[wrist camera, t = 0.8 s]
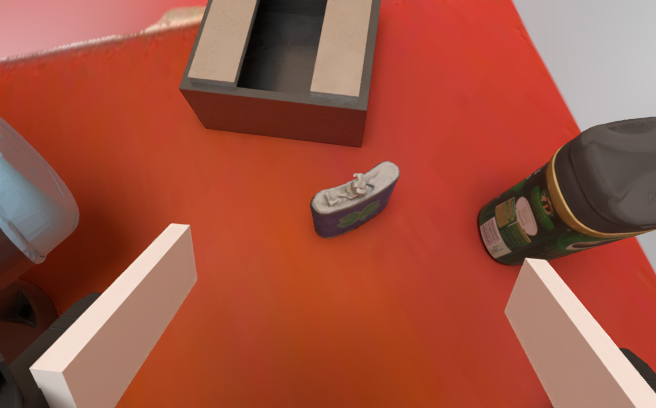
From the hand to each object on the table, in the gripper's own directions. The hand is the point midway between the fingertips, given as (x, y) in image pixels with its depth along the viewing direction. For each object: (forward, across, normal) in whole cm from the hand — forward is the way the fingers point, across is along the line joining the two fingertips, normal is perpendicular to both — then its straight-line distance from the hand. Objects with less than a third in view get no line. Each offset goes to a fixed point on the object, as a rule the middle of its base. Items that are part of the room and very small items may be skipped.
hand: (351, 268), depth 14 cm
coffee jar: (+24, +20, -11) cm, 33 cm away
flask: (+24, +1, -11) cm, 27 cm away
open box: (+38, -8, +3) cm, 39 cm away
